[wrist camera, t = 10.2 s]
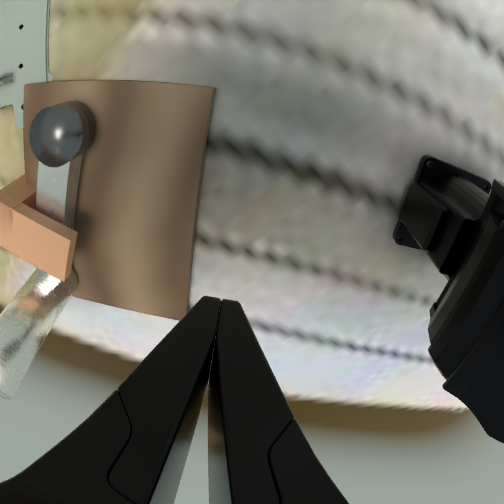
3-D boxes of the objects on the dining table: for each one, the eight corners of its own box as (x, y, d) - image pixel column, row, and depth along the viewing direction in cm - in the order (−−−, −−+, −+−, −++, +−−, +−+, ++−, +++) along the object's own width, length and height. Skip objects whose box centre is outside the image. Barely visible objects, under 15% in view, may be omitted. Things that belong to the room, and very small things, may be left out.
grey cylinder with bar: (54, 96, 15) (-89, 151, 6) (101, 107, 16) (-44, 170, 6) (43, 284, 23) (-23, 382, 13) (77, 299, 23) (18, 406, 14)
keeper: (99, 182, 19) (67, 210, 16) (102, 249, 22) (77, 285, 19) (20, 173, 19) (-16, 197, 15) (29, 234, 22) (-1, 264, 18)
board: (215, 87, 16) (212, 88, 15) (187, 313, 25) (185, 321, 24) (32, 82, 15) (24, 84, 14) (50, 282, 24) (45, 288, 23)
